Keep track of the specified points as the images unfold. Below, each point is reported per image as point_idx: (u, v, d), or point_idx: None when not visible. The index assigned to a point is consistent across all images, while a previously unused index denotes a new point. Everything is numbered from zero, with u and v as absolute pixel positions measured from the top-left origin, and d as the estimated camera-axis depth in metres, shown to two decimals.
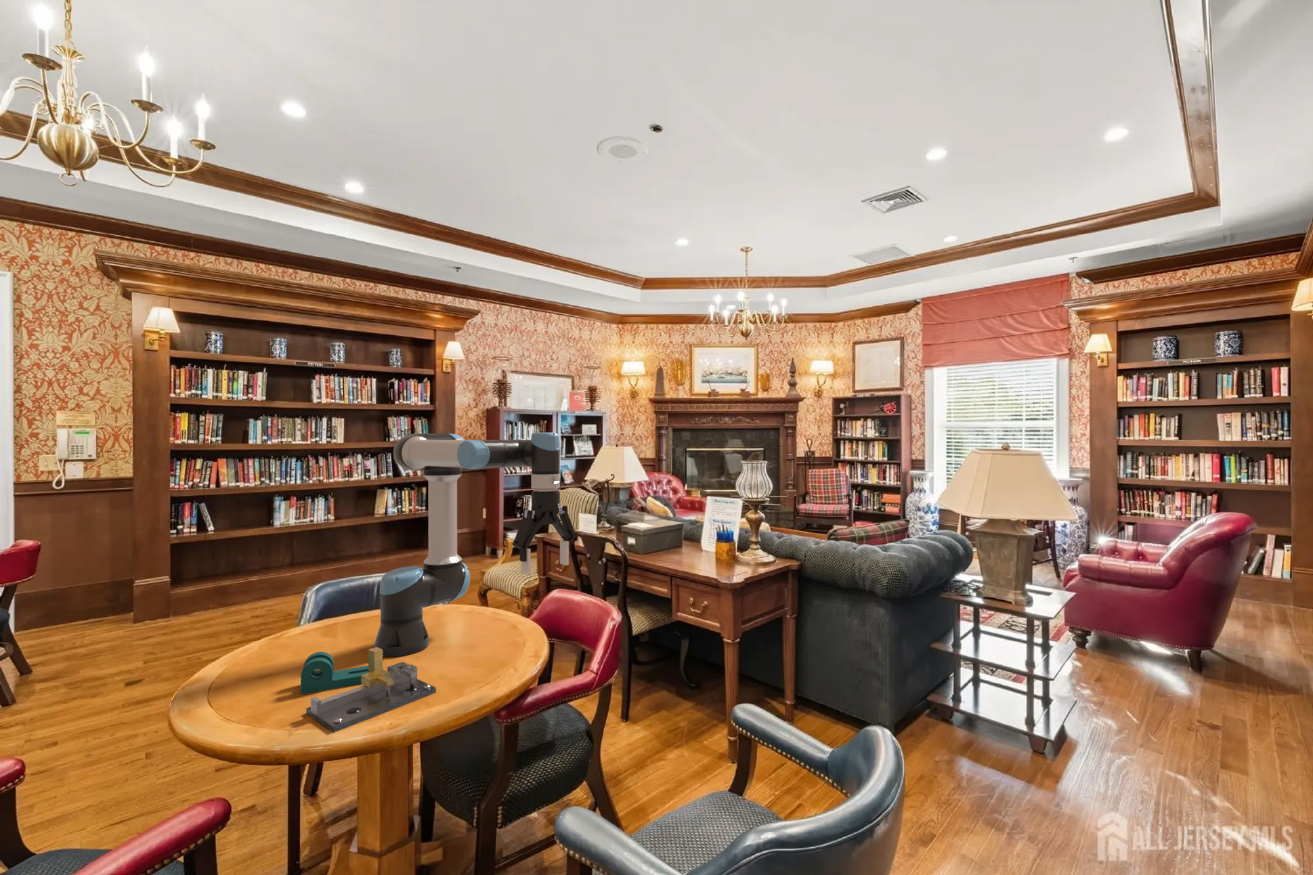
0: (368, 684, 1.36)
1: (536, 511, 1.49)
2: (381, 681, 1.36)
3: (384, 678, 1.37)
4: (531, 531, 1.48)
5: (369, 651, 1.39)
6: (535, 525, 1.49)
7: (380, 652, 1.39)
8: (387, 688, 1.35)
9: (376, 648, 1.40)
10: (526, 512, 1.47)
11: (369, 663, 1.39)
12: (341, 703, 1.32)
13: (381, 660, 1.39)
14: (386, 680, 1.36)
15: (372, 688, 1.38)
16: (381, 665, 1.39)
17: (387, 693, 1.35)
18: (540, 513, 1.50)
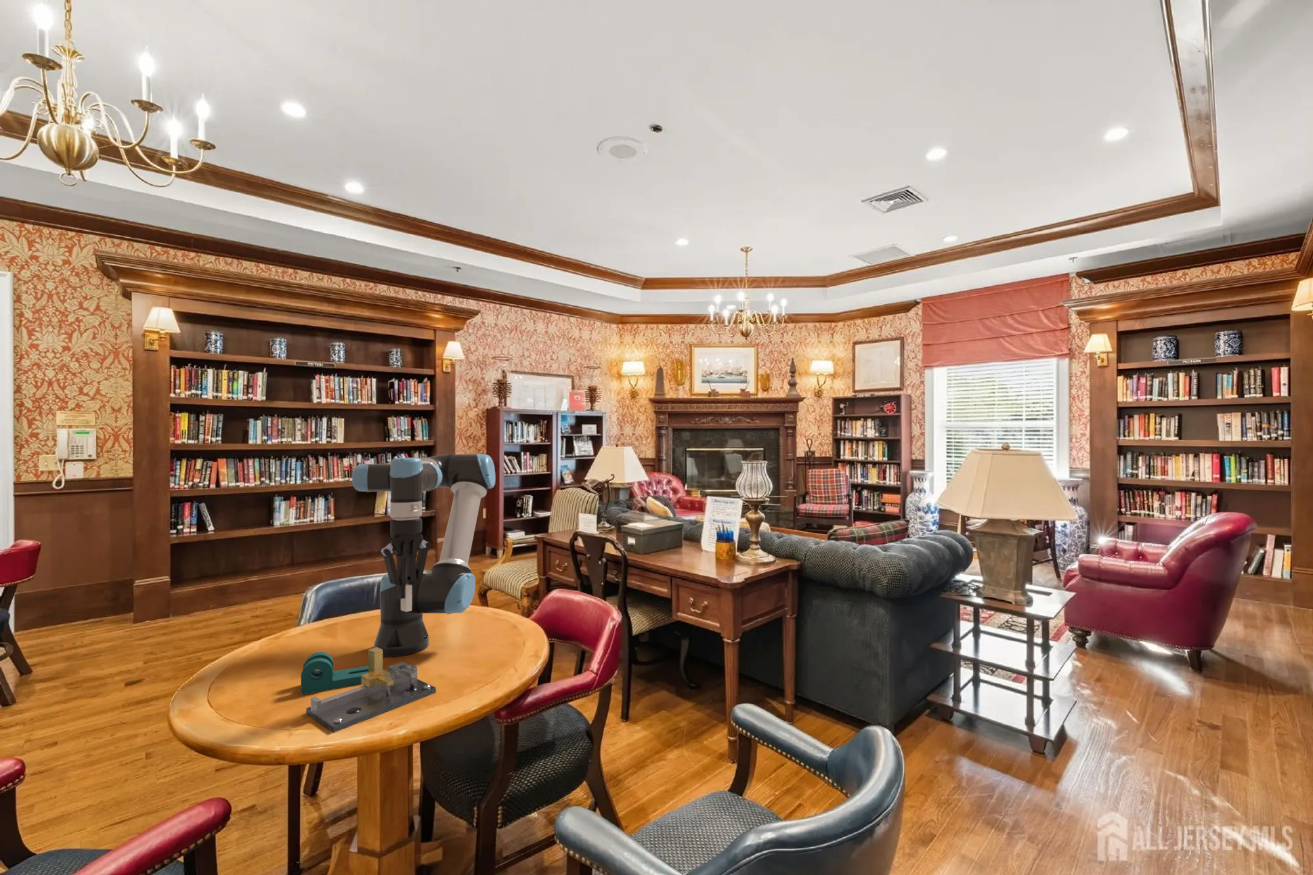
0: (368, 684, 1.36)
1: (392, 544, 1.42)
2: (381, 681, 1.36)
3: (384, 678, 1.37)
4: (400, 567, 1.44)
5: (369, 651, 1.39)
6: (400, 559, 1.44)
7: (380, 652, 1.39)
8: (387, 688, 1.35)
9: (376, 648, 1.40)
10: (382, 552, 1.41)
11: (369, 663, 1.39)
12: (341, 703, 1.32)
13: (381, 660, 1.39)
14: (386, 680, 1.36)
15: (372, 688, 1.38)
16: (381, 665, 1.39)
17: (387, 693, 1.35)
18: (398, 542, 1.43)
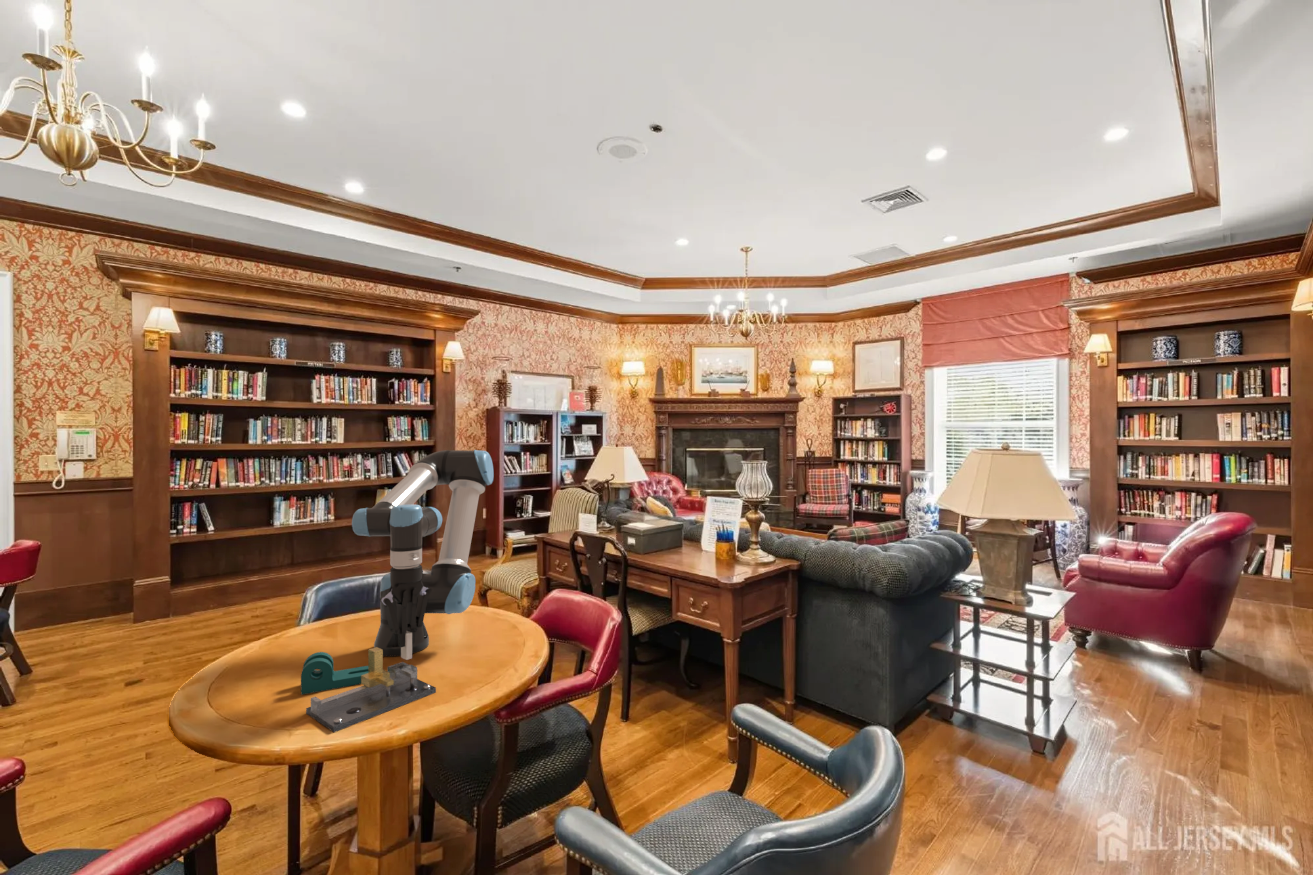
0: (368, 684, 1.36)
1: (392, 593, 1.42)
2: (381, 681, 1.36)
3: (384, 678, 1.37)
4: (400, 615, 1.44)
5: (369, 651, 1.39)
6: (401, 608, 1.44)
7: (380, 652, 1.39)
8: (387, 688, 1.35)
9: (376, 648, 1.40)
10: (382, 601, 1.41)
11: (369, 663, 1.39)
12: (341, 703, 1.32)
13: (381, 660, 1.39)
14: (386, 680, 1.36)
15: (372, 688, 1.38)
16: (381, 665, 1.39)
17: (387, 693, 1.35)
18: (398, 591, 1.43)
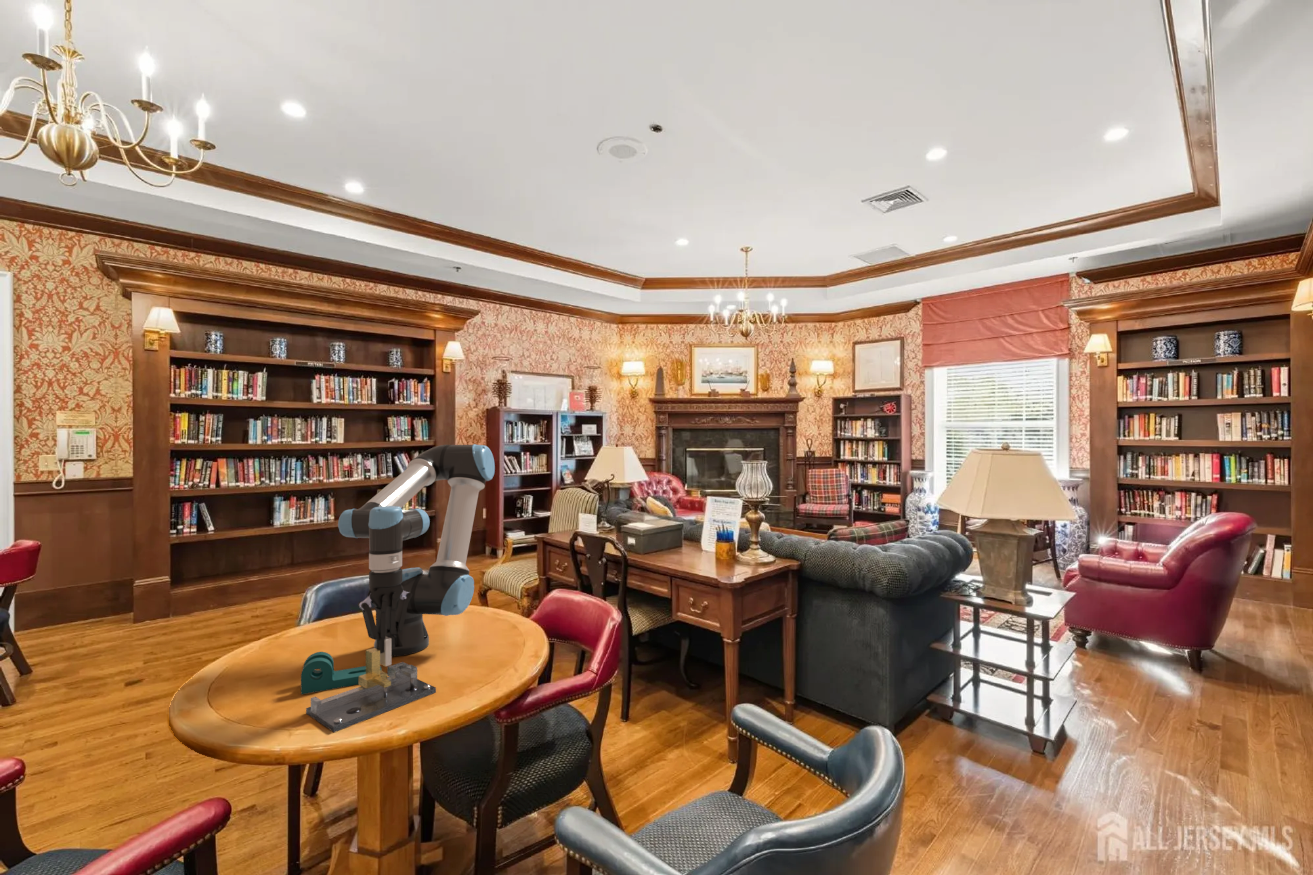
0: (365, 685, 1.36)
1: (371, 597, 1.38)
2: (378, 682, 1.36)
3: (381, 679, 1.36)
4: (379, 620, 1.39)
5: (366, 652, 1.39)
6: (379, 613, 1.39)
7: (377, 653, 1.38)
8: (384, 689, 1.35)
9: (373, 649, 1.40)
10: (360, 606, 1.36)
11: (366, 664, 1.39)
12: (341, 703, 1.32)
13: (378, 661, 1.38)
14: (383, 681, 1.35)
15: (372, 688, 1.38)
16: (378, 666, 1.38)
17: (384, 694, 1.35)
18: (377, 595, 1.38)
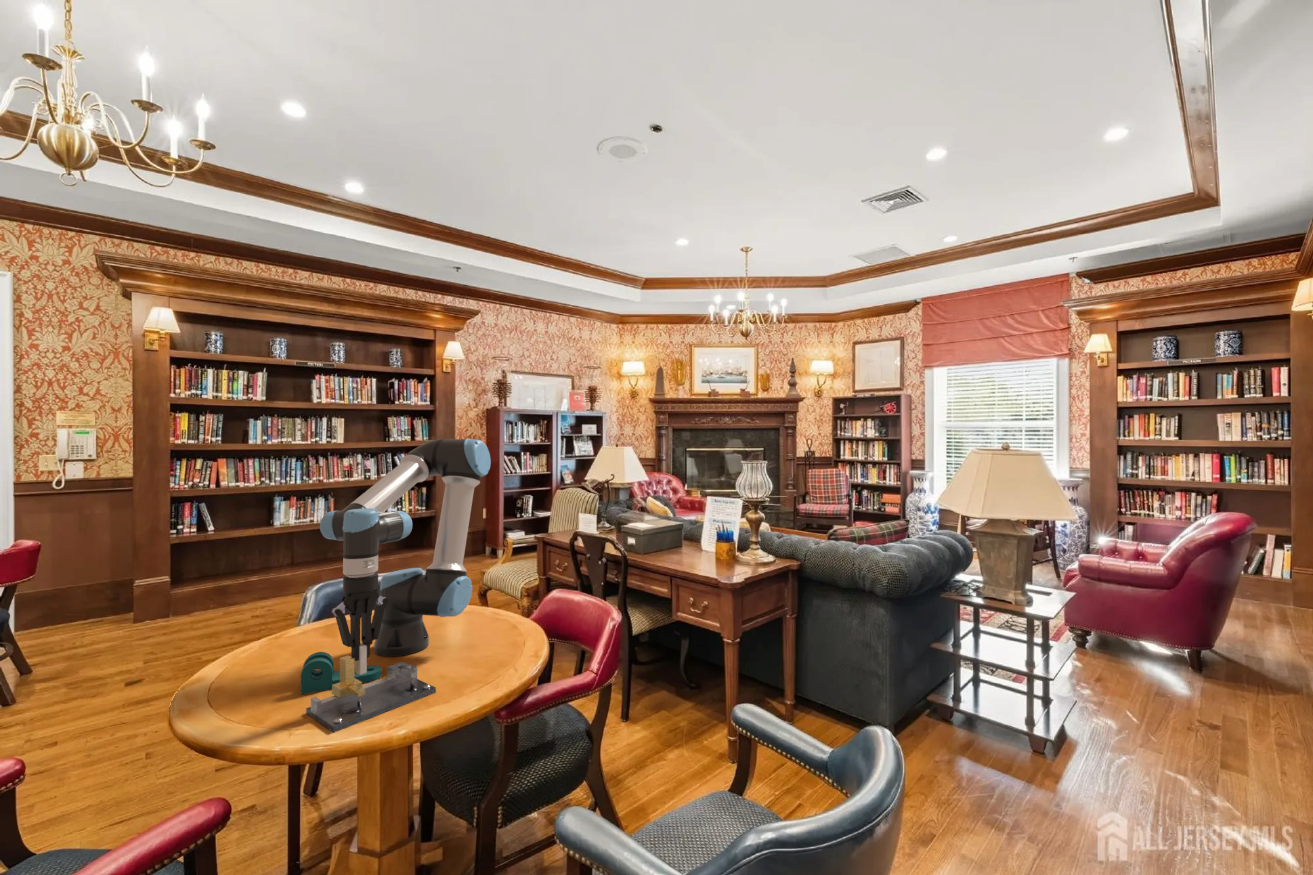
0: (339, 694, 1.31)
1: (345, 603, 1.33)
2: (352, 691, 1.31)
3: (355, 688, 1.31)
4: (354, 627, 1.35)
5: (340, 660, 1.34)
6: (354, 619, 1.34)
7: (352, 661, 1.33)
8: (358, 698, 1.30)
9: (348, 656, 1.35)
10: (333, 613, 1.31)
11: (340, 672, 1.34)
12: (341, 703, 1.32)
13: (353, 669, 1.34)
14: (357, 690, 1.30)
15: (372, 688, 1.38)
16: (353, 674, 1.34)
17: (358, 704, 1.30)
18: (351, 601, 1.34)
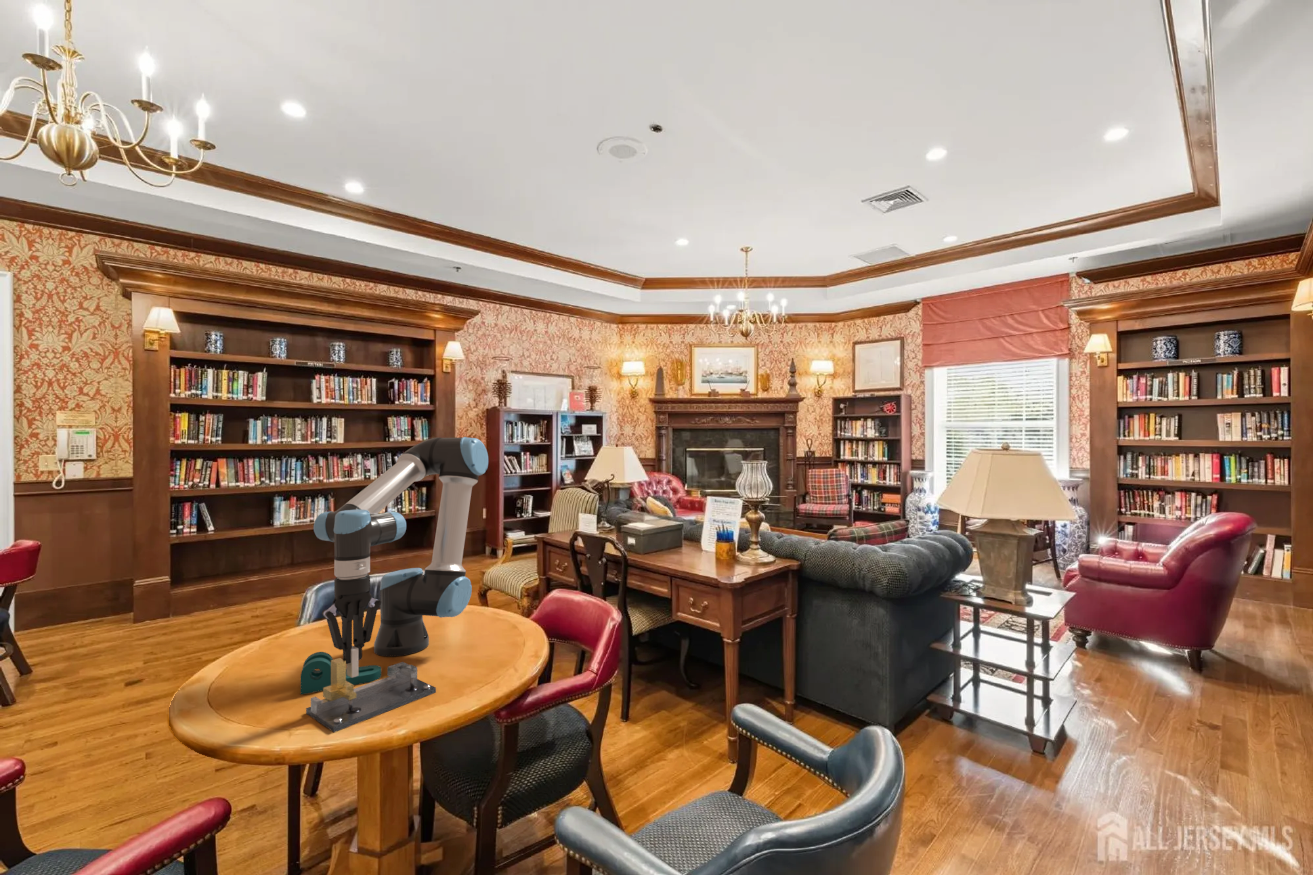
0: (330, 697, 1.29)
1: (336, 605, 1.31)
2: (343, 694, 1.29)
3: (347, 691, 1.30)
4: (345, 629, 1.33)
5: (331, 662, 1.32)
6: (345, 621, 1.33)
7: (343, 663, 1.32)
8: (349, 702, 1.28)
9: (339, 659, 1.33)
10: (324, 615, 1.30)
11: (331, 675, 1.32)
12: (341, 703, 1.32)
13: (344, 672, 1.32)
14: (348, 693, 1.29)
15: (372, 688, 1.38)
16: (344, 677, 1.32)
17: (349, 707, 1.28)
18: (342, 603, 1.32)
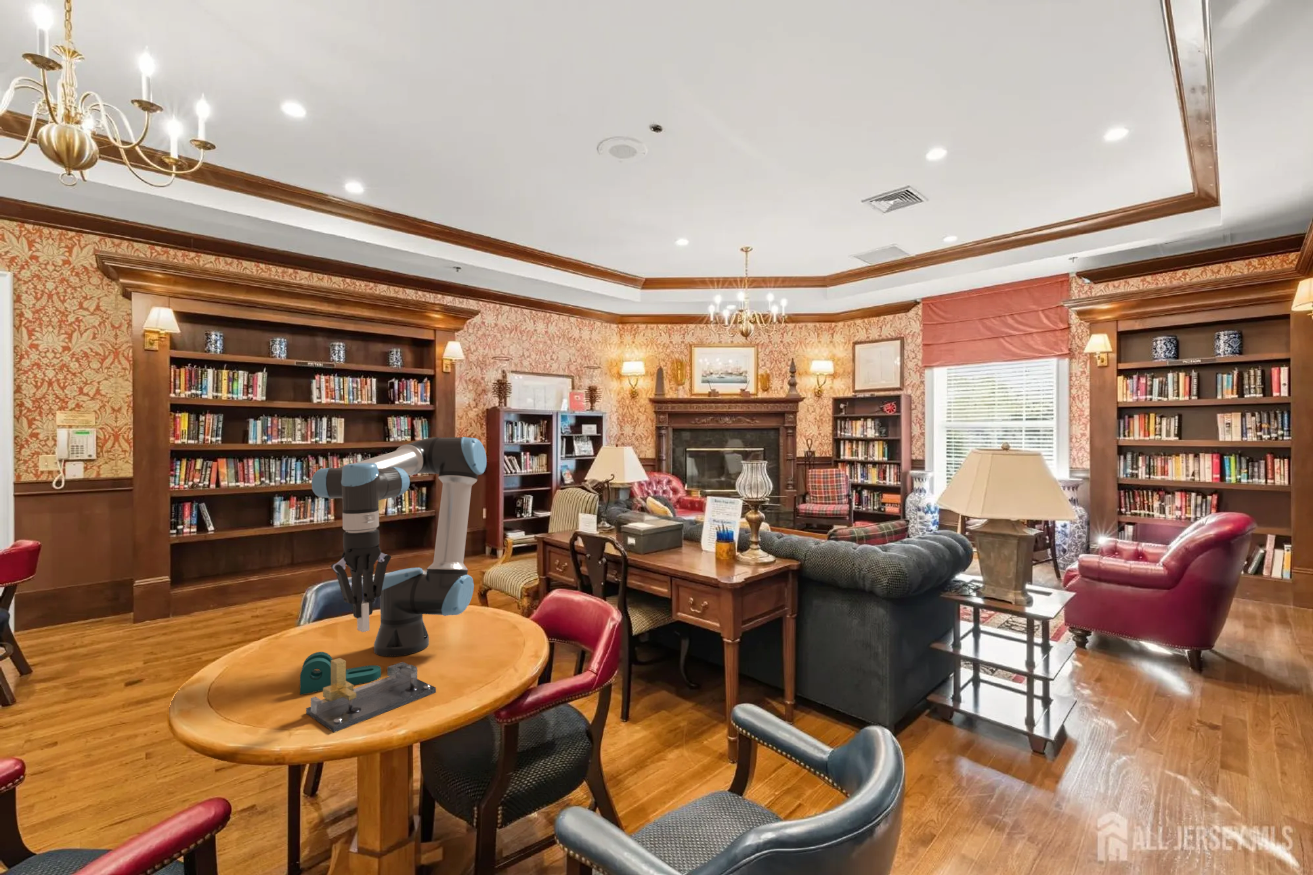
0: (330, 697, 1.29)
1: (345, 559, 1.29)
2: (343, 694, 1.29)
3: (346, 691, 1.30)
4: (355, 583, 1.31)
5: (331, 662, 1.32)
6: (355, 576, 1.31)
7: (343, 663, 1.32)
8: (349, 702, 1.28)
9: (339, 659, 1.33)
10: (334, 568, 1.27)
11: (331, 675, 1.32)
12: (341, 703, 1.32)
13: (344, 672, 1.32)
14: (348, 693, 1.29)
15: (372, 688, 1.38)
16: (344, 677, 1.32)
17: (349, 707, 1.28)
18: (351, 557, 1.30)
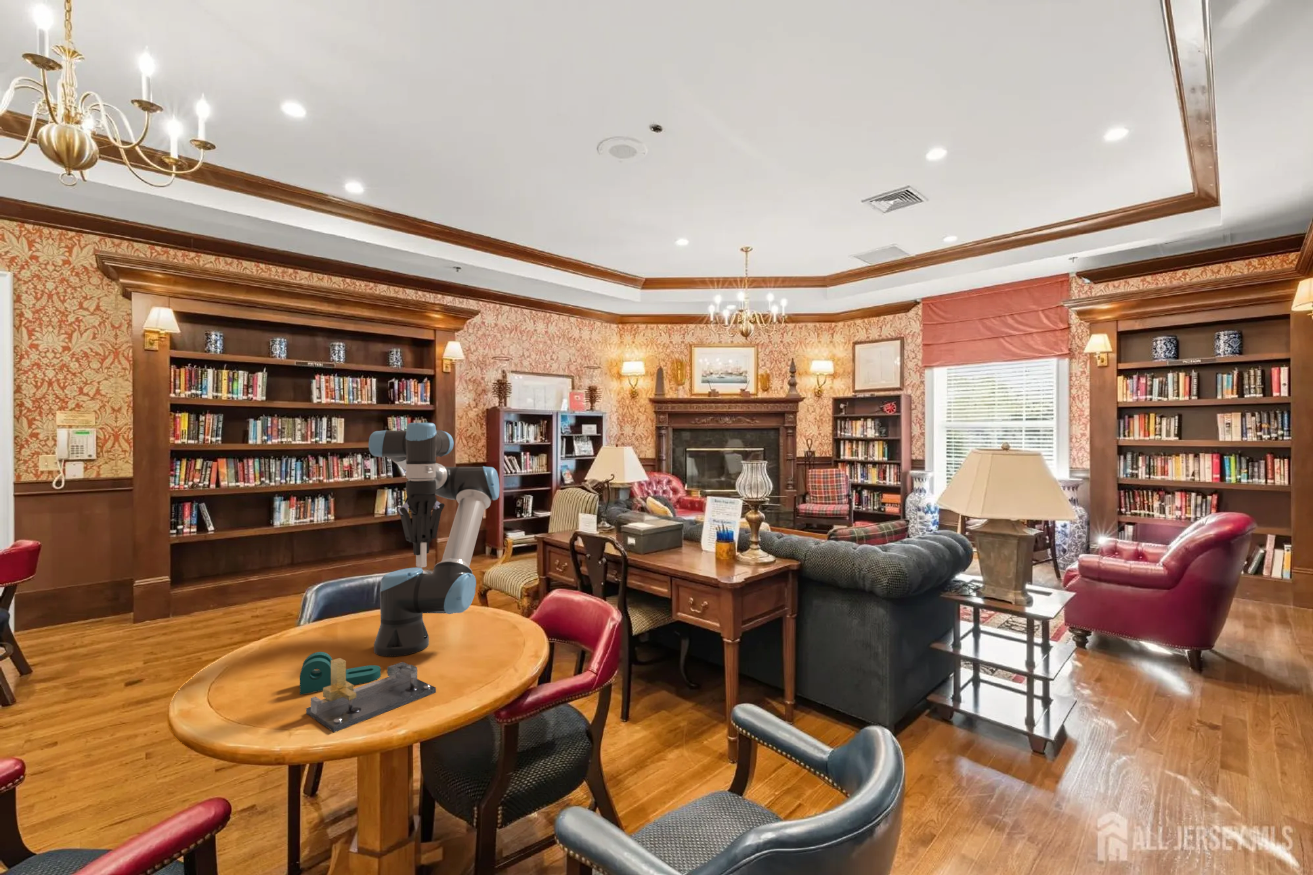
0: (330, 697, 1.29)
1: (408, 503, 1.51)
2: (343, 694, 1.29)
3: (346, 691, 1.30)
4: (415, 525, 1.52)
5: (331, 662, 1.32)
6: (416, 518, 1.52)
7: (343, 663, 1.32)
8: (349, 702, 1.28)
9: (339, 659, 1.33)
10: (399, 510, 1.49)
11: (331, 675, 1.32)
12: (341, 703, 1.32)
13: (344, 672, 1.32)
14: (348, 693, 1.29)
15: (372, 688, 1.38)
16: (344, 677, 1.32)
17: (349, 707, 1.28)
18: (413, 502, 1.52)
